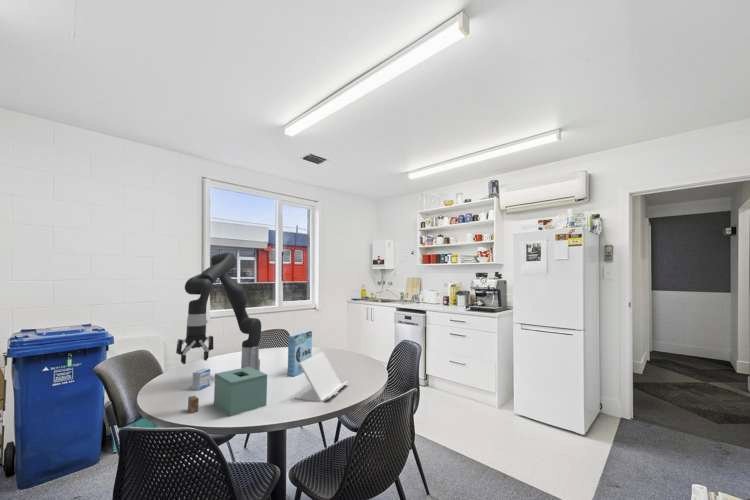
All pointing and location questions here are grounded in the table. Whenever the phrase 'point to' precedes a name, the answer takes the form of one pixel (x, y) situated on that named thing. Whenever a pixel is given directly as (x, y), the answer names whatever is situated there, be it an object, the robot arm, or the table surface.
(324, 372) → the tablet stand
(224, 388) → the box
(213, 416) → the table surface
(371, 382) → the table surface
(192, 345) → the robot arm
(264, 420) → the table surface
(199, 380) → the medicine box
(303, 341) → the gum box
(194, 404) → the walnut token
